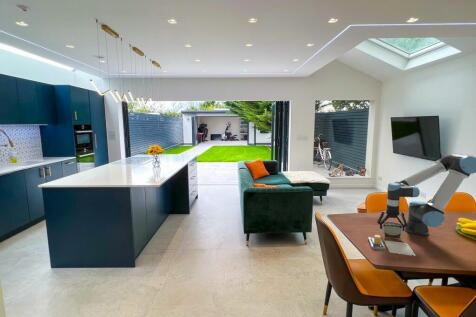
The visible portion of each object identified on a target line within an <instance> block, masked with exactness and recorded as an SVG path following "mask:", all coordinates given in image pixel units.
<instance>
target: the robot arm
mask: <svg viewBox="0 0 476 317" xmlns="http://www.w3.org/2000/svg"><path fill="white" fill-rule="evenodd" d="M446 172H448V174H447V176H446V177H445V178H444V180H443V181H442V183H441V184H440V186H439V187H438V189H437V191H436V192H435V194H434V196H433V197H432V198H431V200H429V201H430V202H424V201H410V202H409V203H408V215H407V216H408V217H407V218H408V219H407V221H406V218H405V213H404V212H403V211H402V212H400V198H417V197H419V196H420V189H419V187H418V185H420V184H421V183H423V182H426V181H427V180H429V179H432V178H433V177H435V176H437V175H439V174H441V173H446ZM475 173H476V156H473V155H470V154H469V155H468V154H461V153H451V154H448V155H446V156H442V157H441V158H440V159H437V160H435V162H434V163H433V164H431V165H429V166H427V167H425V168H424V169H421V170H420V171H418V172H416V173H414V174H411V175H410V176H408V177H406V178H404V179H402V180H400V181H394V182H389V183H388V184H387V189H386V190H387V194H386V195H387V196H386V198H387V199H386V210H385V211H384V210H381V213H380V216H379V217H378V220H377V221H376V223H377V225H379V229H380V231H381V235H383V234H384V226H383V224H384V223H385V222H387V220H388V219H396V220H397V221H398V222H399V224H401V225H402V226H403V228H402V230H401V236H400V237H403V232H407V233H410V234H412V235H417V236H428V235H429V234H430V230H429V227H430V228H438V227H440V226H442V225H443V224H444V222H445V216H444V215H445V213H446V211H445V208H446V207H447V206H448V204H449V202H450V201H451V199H452V198H453V196H454V194H455V193H456V192H457V190H458V189H459V187H460V186H461V184H462V183H463V181H464V180H465V179H467V178H468V179H469V177H470V176H471V175H473V174H475ZM385 214H386V215H385ZM384 215H385V216H384ZM399 216H401V218H402V220H401V219H400V218H399ZM402 221H403V222H402Z"/></svg>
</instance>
